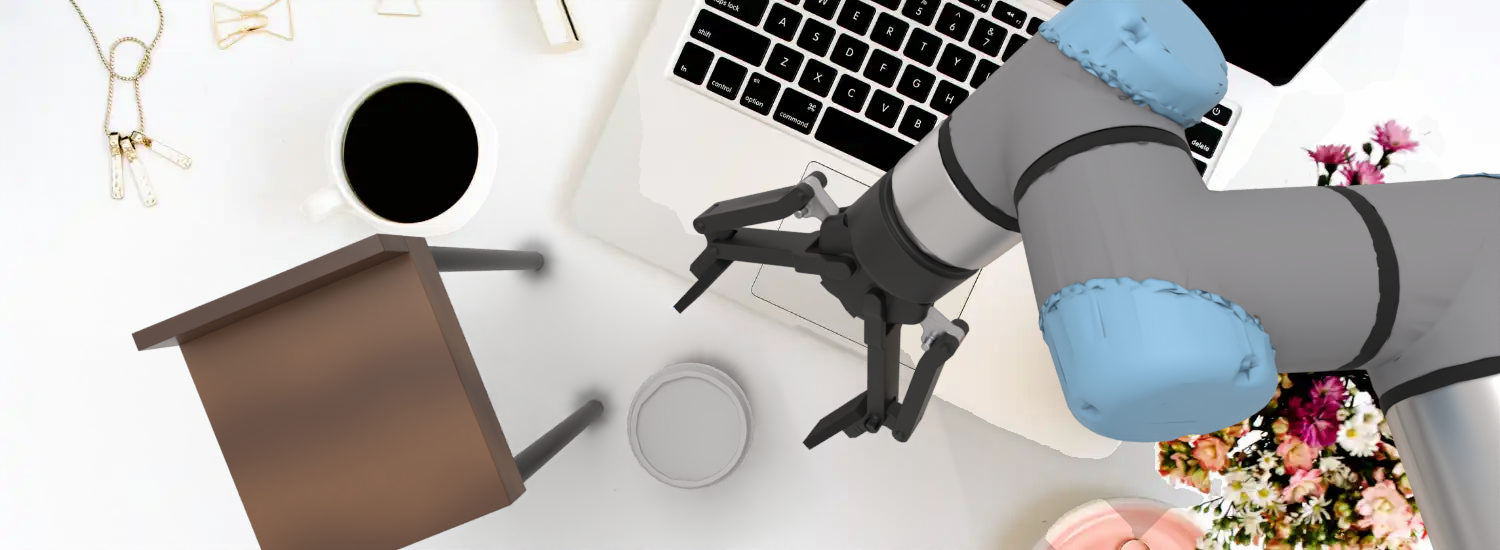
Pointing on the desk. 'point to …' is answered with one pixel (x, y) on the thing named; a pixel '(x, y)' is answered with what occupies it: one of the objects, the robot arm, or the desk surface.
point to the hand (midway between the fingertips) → (750, 367)
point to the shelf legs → (519, 260)
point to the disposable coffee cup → (690, 425)
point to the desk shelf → (347, 401)
